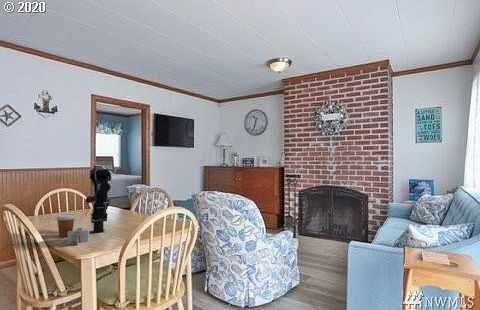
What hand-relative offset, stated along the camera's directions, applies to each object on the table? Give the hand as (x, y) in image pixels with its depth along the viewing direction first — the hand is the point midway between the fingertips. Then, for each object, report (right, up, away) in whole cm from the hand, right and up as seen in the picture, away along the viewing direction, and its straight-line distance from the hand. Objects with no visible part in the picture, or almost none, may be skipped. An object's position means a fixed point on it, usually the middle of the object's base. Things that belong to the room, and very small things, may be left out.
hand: (102, 217), depth 167 cm
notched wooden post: (-9, -12, -10) cm, 17 cm away
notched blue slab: (-8, -12, -9) cm, 17 cm away
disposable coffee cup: (-23, -12, +2) cm, 26 cm away
